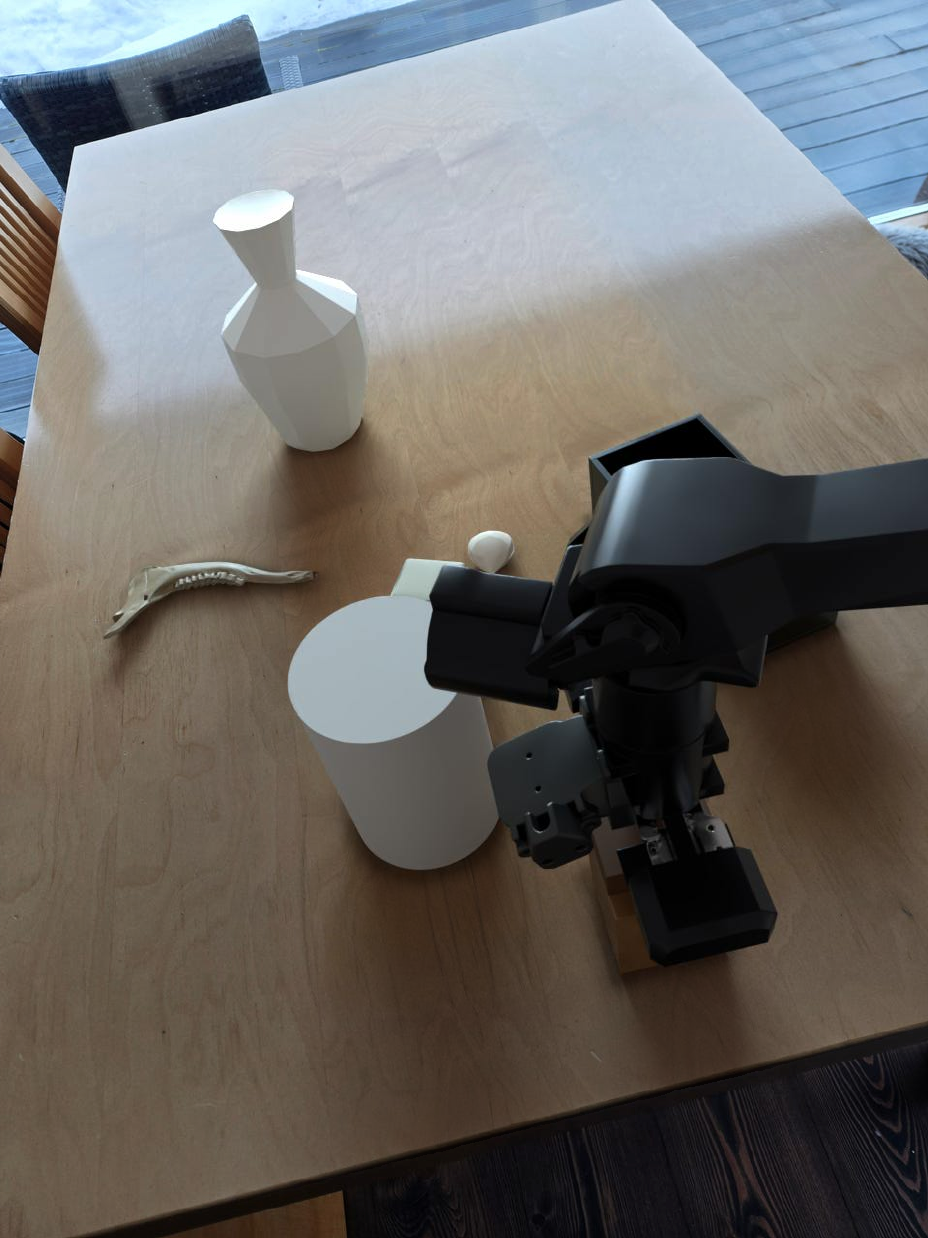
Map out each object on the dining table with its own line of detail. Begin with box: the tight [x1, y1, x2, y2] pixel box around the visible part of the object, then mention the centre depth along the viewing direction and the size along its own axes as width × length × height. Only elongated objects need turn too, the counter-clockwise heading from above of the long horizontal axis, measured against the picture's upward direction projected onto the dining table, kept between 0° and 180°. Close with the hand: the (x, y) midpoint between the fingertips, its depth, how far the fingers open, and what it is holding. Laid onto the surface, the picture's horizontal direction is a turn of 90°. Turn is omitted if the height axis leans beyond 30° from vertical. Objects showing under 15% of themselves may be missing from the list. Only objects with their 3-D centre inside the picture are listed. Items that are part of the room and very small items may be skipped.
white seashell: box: [467, 530, 515, 574], centre depth 85 cm, size 4×5×2 cm
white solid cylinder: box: [287, 595, 500, 871], centre depth 65 cm, size 12×12×17 cm
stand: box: [588, 848, 660, 975], centre depth 60 cm, size 7×7×9 cm
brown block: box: [591, 798, 713, 896], centre depth 55 cm, size 7×4×2 cm, turn 101°
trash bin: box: [587, 412, 839, 656], centre depth 79 cm, size 21×11×8 cm, turn 23°
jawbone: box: [102, 561, 320, 640], centre depth 90 cm, size 9×20×2 cm, turn 107°
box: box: [389, 558, 466, 603], centre depth 75 cm, size 5×4×11 cm
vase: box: [212, 188, 370, 453], centre depth 94 cm, size 14×14×25 cm
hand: (655, 849), depth 56 cm, fingers closed on brown block, 4 cm apart
